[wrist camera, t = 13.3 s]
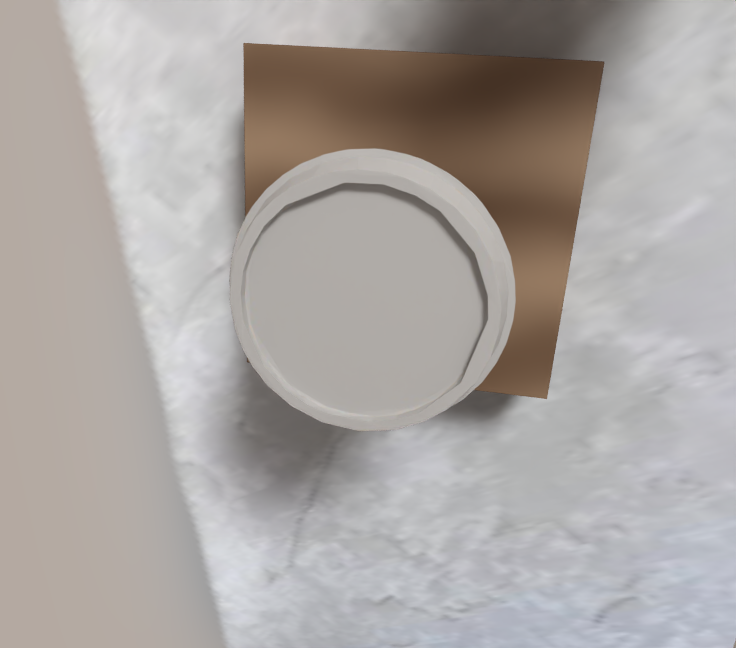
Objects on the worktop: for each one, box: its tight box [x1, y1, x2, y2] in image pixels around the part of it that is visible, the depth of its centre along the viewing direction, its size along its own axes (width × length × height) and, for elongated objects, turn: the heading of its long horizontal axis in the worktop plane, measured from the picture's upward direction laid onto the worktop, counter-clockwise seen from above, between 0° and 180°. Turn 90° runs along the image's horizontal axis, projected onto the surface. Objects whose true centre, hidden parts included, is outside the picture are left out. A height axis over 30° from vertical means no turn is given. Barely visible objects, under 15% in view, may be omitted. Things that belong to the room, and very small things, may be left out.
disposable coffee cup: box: [229, 148, 516, 431], centre depth 25 cm, size 10×10×12 cm
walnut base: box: [244, 43, 604, 399], centre depth 33 cm, size 16×16×5 cm
